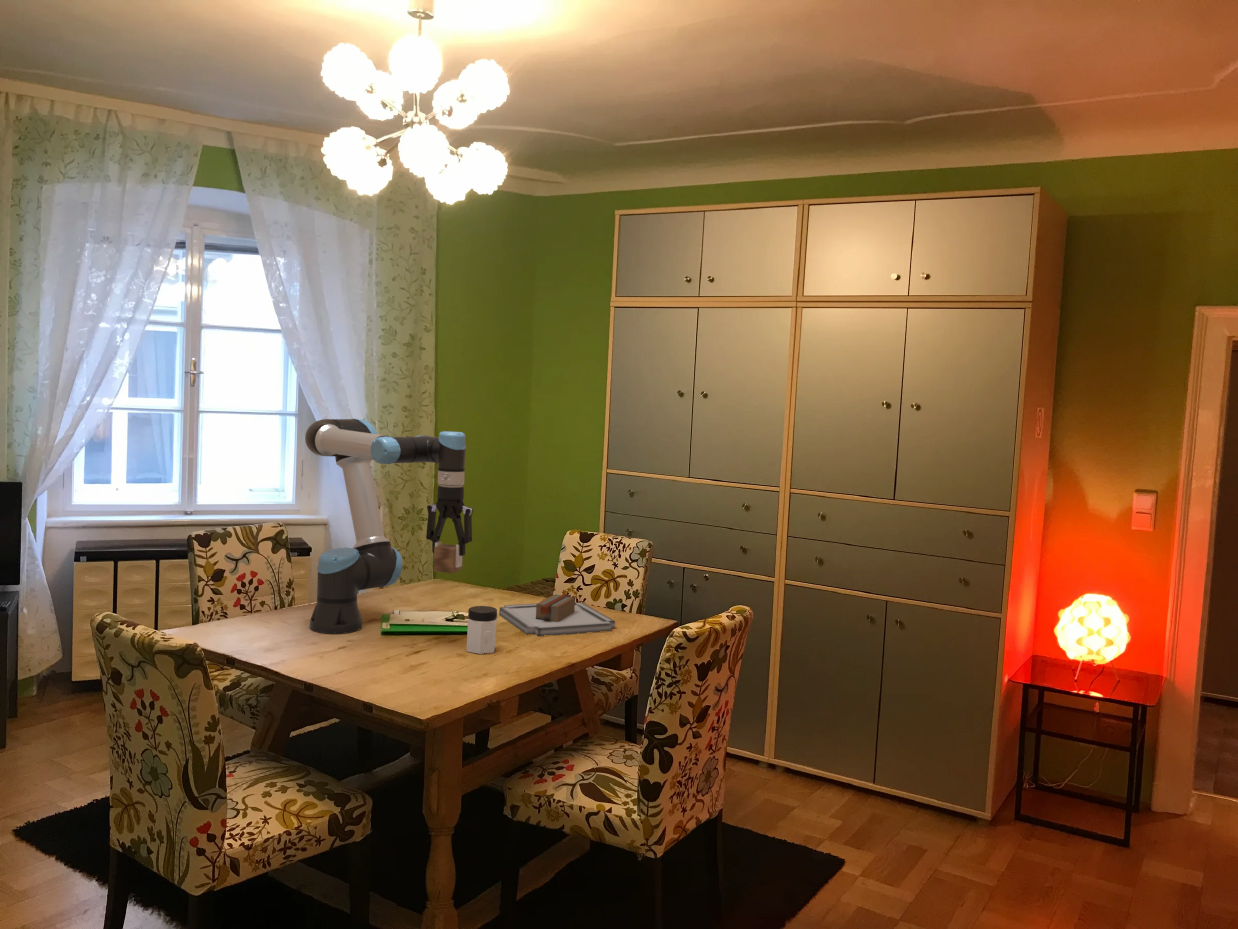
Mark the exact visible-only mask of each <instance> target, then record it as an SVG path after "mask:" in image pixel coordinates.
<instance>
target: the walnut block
mask: <svg viewBox="0 0 1238 929" xmlns="http://www.w3.org/2000/svg"><path fill="white" fill-rule="evenodd" d="M456 545H457V544H447V543H443V544H442V545H439V546H436V547H434V553H433V572H437V573H438V572H439V573H446V574H447V573H448V574H455V573H457V572H460V571H463V565H462V566H461V567H458V568H457V567H455V565H456Z"/></svg>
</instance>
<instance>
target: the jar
mask: <svg viewBox="0 0 1238 929" xmlns="http://www.w3.org/2000/svg"><path fill="white" fill-rule="evenodd" d="M467 616H468V619H467V633H466V634H467V635H466V652H467V653H471V654H476V653H477V654H476V655H486V653H487V654H494V653H495V651H496V638H497V619H498V618H497V617H498V609H497V608H496V607H493V606H489V605H475V606H474V605H473V606H471V607H468V615H467ZM484 653H485V654H484Z"/></svg>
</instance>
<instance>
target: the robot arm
mask: <svg viewBox="0 0 1238 929" xmlns="http://www.w3.org/2000/svg"><path fill="white" fill-rule="evenodd" d="M304 438H305V440H304V442H305V444H306V446H307V448H308V450H309V451H310V452H311V453H313V454H315V455H316V456H320V457H334V458H335V463H336V465H337V466H338V467H340V468H341V469H342V473H343V474H342V475H343V479H344V484H345V489H346V490H345V491H346V494H347V498H348V499H347V500H348V505H349V509H350V516H351V520H352V526H353V531H354V536H355V542H356V543H355V544H354V545H353V547H343V548H342V547H341V548H340V547H337V548H331V549H329V550H325V551H324V552H322V553H321V554H320V556H319V558H318V563H317V582H316V584H317V585H316V586H317V588H316V590H317V591H316V604H315V607H314V609H313V612H312V614H311V617H310V621H309V628H310V630H311V631H314V632H317V633H320V634H321V633H322V634H334V635H335V634H348V633H354V632H357V631H359V630H361V629H362V628H363V618H362V614H361V612H360V608H359V604H358V591H362V590H369V589H376V588H381V589H382V588H384V587H387V586H391V585H394V584H395V583H396V582H397V581H398V580H399V579H400V576H401V574H402V572H403V557H402V555H401V553H400V552H399V550H398V549H396V547H395V548H394V547H392V544H391V541H390V540H389V539H388V538H387V537H385V534H384V530H383V523H382V517H381V513H380V510H379V509H380V507H379V503H378V499H377V493H376V488H375V482H374V478H373V471H372V467H371V462H372V461H374V462H375V463H377V464H381V465H383V464H384V465H393V464H405V463H406V464H409V463H411V464H412V463H413V464H415V463H431V464H432V463H433V464H438V467H437V485H439V486H437V495H436V498H437V499H436V500H437V501H436V503H435V504H429V505H427V507H426V509H427V523H426V534H425V538H426V540H429V541H431V542H432V544H431V546H432V548H431V552H432V554H434V547H436V546H439V545H443V544H442V543H443V541H441V539H440V538H441V536H442V534H443V530H444V526H445V524H446V521H447V520H448V519H451V521H452V523H453V526H454V530H455V532H456V533H455V534H456V537H457V541H458V542H457V544H455V545H456V565H455V567H457V568H458V567H461V566H462V567H463V556H465V555H466V544H469V543H471V542H472V541H473V528H472V527H473V525H472V524H473V523H472V516H473V513H474V508H473V507H470V508H469V507H467V506H465V504H464V496H465V488H464V485H465V468H466V466H465V465H466V464H465V463H466V449H467V444H466V434H465V433H464V432H461V431H445V430H443V431H440V432H439V435H438V436H430V435H426V434H425V435H415V436H392V435H391V436H390V435H385V434H378V433H377V430H376V428H375V427H374V425H373V424H372V423H371V422H369V421H368V420H365V419H359V418H345V419H344V418H343V419H342V418H336V419H335V418H325V419H324V418H323V419H320V420H316V421H315V422H313V423H311V424H310V425H309V426H308V428H307V429H306V431H305V435H304ZM437 511H438V512H439V514H438V516H437ZM462 512H463V523H462V516H461V514H462ZM436 518H437V519H436ZM436 520H437V523H436Z"/></svg>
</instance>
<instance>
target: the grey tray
mask: <svg viewBox="0 0 1238 929" xmlns="http://www.w3.org/2000/svg"><path fill="white" fill-rule="evenodd" d="M498 613H499V614H498V615H499V616H500V617H502V618H503V619H504V620H505V621H507V622H509V623H510V624H511V625H512V626H514V627H515V628H517V629H518V630H519V631H521V632H522V631H523V633H524V634H525V633H526V634H525V635H526V636H529V635H528V634H534V635H535V634H536V635H537V636H536V635H535V636H536V637H538V636H539V637H545V636H544V635H553V636H563V634H566V635H576V634H577V633H580V634H588V633H587V632H594V633H601V632H600V631H607V632H612V630H614V629H615V628H616V620H614V619H612V618H611V617H608V616H607V615H605V614H604V613H602V612H600V611H599V610H596V609H594V608H593V607H591V606H589V605H588V604H586V603H584V602H576V597H575V596H572V595H571V594H566V593H563V594H562V595H559V594H552V595H551V596H548V597H547V598H545V599H543V600H541V601H539V602H537V603H535V602H534V603H519V604H518V603H517V604H504V605H503V607H502V606H501V607H499V612H498ZM561 634H562V635H561Z"/></svg>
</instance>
